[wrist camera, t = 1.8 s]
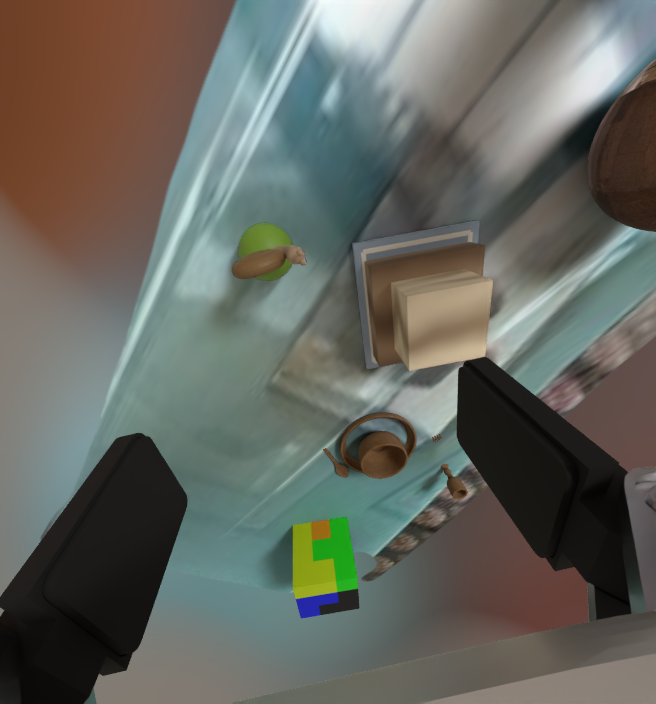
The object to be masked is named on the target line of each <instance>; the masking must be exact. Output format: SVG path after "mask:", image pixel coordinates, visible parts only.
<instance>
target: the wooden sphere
mask: <svg viewBox="0 0 656 704" xmlns="http://www.w3.org/2000/svg"><path fill="white" fill-rule="evenodd" d="M587 178H588V184H589V188H590V191H591V194H592V196H593V198H594V200H595V201H596V203H597V204H598V206H599V207H600V208H601V209H602V210H603V211H604V212H605V213H606V214H607V215H609V216H610V217H611V218H613V219H615V220H616V221H618V222H620V223H622V224H624V225H627V226H630V227H633V228H636V229H640V230H646V231H653V232H656V59H655V60H654V61H653V62H652V63H650V64H649V65H648V66H647V67H646V68H645V69H644V70H643V71H642V72H641V73H640V74H639V75H638V76H636V77H635V79H634V80H633V81H632V82H631V83H630V84H629V85H628V86H627V87H626V88H625V89H624V91H623V92H622V93H621V94H620V95H619V97H618V98H617V99H616V100H615V102H614V103H613V105H612V106H611V107H610V109H609V110H608V112H607V113H606V115H605V117H604V118H603V120H602V122H601V124H600V126H599V128H598V130H597V132H596V134H595V136H594V139H593V142H592V145H591V148H590V152H589V157H588V163H587Z"/></svg>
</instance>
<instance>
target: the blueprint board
mask: <svg viewBox="0 0 656 704" xmlns="http://www.w3.org/2000/svg"><path fill="white" fill-rule="evenodd" d="M479 225H480V221H477V220H475V221H470V222H464V223H459V224H453V225H448V226H443V227H437V228H432V229H426V230H421V231H415V232H410V233H404V234H399V235H394V236H388V237H383V238H377V239H372V240H366V241H361V242H355V243H352V249H353V258H354V267H355V276H356V284H357V293H358V302H359V311H360V320H361V328H362V337H363V346H364V355H365V364H366V368H367V369H372V368H377V367H379V365H378V363H377V361H376V359H375V357H374V356H373V346H372V336H371V325H370V315H369V305H368V294H367V284H366V274H365V264H364V261H369V260H374V259H379V258H385V257H390V256H396V255H401V254H406V253H412V252H417V251H423V250H428V249H433V248H439V247H444V246H450V245H455V244H461V243H466V242H472V243H476V244H478V238H479ZM401 363H403V362H401ZM396 364H398V363H396ZM390 365H393V364H390ZM385 366H388V365H385ZM380 367H383V366H380Z"/></svg>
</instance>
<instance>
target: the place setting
mask: <svg viewBox="0 0 656 704" xmlns="http://www.w3.org/2000/svg"><path fill="white" fill-rule="evenodd" d="M385 417H387V418H395V419H398V420H399V421H401V422H402V423H403V424H404V425H405V427H406V429H407V433H408V438H407V442H406V444H405V446H403V444H402V442H401V441H400V439H399V438H398V437H397V436H396V435H394V434H392V433H390V432H386V431H379V432H374V433H372V434H370V435H368V436H367V437H365V438H364V439H363V441H362V442H361V443H360V446H359V449H358V456H359V461H358V460H356V459H354V458H353V457H352V456H351V455H350V454H349V453H348V451H347V448H346V439H347V436H348V434H349V433H350V432H351V431H352V430H353V429H354V428H356V427H357V426H358V425H360V424H362V423H364V422H366V421H369V420H371V419H376V418H385ZM439 436H440V434H439ZM434 437H435V438H436V436H434ZM437 437H438V435H437ZM432 438H433V437H432ZM440 438H441V436H440ZM438 439H439V437H438ZM441 439H442V438H441ZM433 440H434V441H435V439H434V438H433ZM436 440H437V438H436ZM439 440H440V439H439ZM416 441H417V437H416V433H415V430H414V428H413V427H412V425H411V424H410V423H409V422H408V421H407V420H406V419H404V418H403V417H401V416H399V415H396V414H392V413H374V414H370V415H367V416H364V417H362V418H360V419H359V420H357V421H355V422H354V423H353V424H352V425H351V426H350V427H349V428H348V429H347V430H346V432H345V433H344V435H343V437H342V440H341V445H340V451H341V456H342V459H343V461H344V462H345V463H346V464H347V465H348V466H349V467H350V468H352V469H353V470H355V471H358V472H362V473H365V474H366V475H367V476H369V477H372V478H377V479H382V478H388V477H391V476H393V475H395V474H397V473H399V472H400V471H401V470H402V469H403V468H404V467H405V465H406V463H407V460H408V458H409V457H410V456H411V454H412V453H413V451H414V449H415V446H416ZM437 441H438V440H437ZM435 442H436V441H435ZM323 451H324V452H325V453H326V454H327V455H328V456H329V458H330V459H331V460H332V461H333V462H334V464H335V470H336V472H337V474H338V475H340V476H342V477H348V475H349V472H348V469H347V467H346V466H344V465H343V464H340V463H338V462H337V461H336V460H335V459H334V458H333V456H332V455H331V454H330V452H329V451H328V450H327V449H326V448H325V449H323ZM441 469H444V473H445V474H446V475H447V476H448V480H447V486H448V489H449V491H450V493H451V495H452V496H453V498H454V499H462V498H464V497H465V496H466V495H467V493H468V492H467V490H466V488H465V486H464V485H463V483H462V482H461V480H460V479H459V478H457V477H453V476H452V475H451V471H450V470H449V469H448V465H447V464H443V465H442V466H441Z"/></svg>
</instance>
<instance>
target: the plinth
mask: <svg viewBox="0 0 656 704" xmlns="http://www.w3.org/2000/svg"><path fill="white" fill-rule="evenodd" d="M484 251H485V246H484V245H480V244H476V243H472V242H466V243H461V244H455V245H450V246H444V247H439V248H433V249H428V250H423V251H417V252H412V253H406V254H401V255H396V256H390V257H385V258H379V259H374V260H369V261H364V264H365V274H366V284H367V294H368V305H369V315H370V325H371V336H372V346H373V356H374V357H375V359H376V361H377V363H378V365H379V367H380V366H385V365H390V364H396V363H401V362H404V364H405V365H406V367H407V368H408V370H409V371H412V370H417V369H422V368H427V367H433V366H438V365H443V364H448V363H453V362H458V361H464V360H469V359H474V358H479V357H484V356H485V351H486V342H487V333H488V323H489V314H490V305H491V296H492V286H493V280H491V279H489V278H486V277H484V276H482V274H483V263H484Z"/></svg>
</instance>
